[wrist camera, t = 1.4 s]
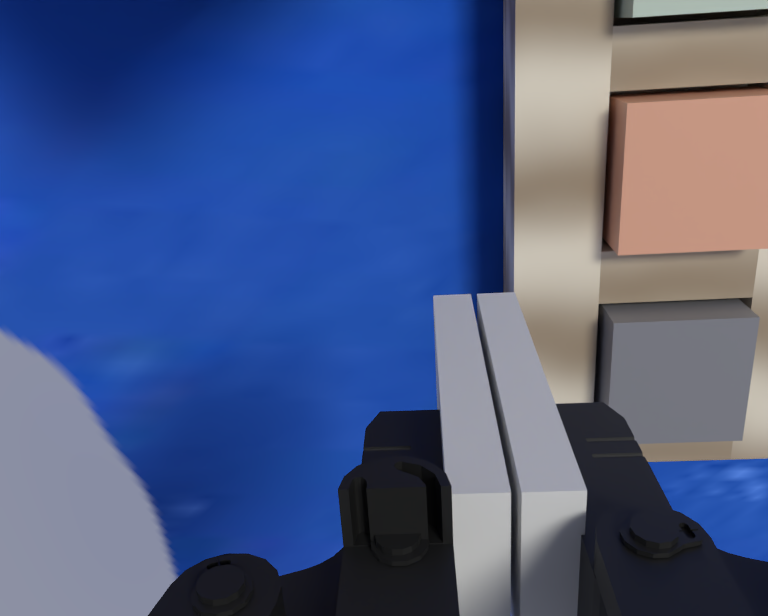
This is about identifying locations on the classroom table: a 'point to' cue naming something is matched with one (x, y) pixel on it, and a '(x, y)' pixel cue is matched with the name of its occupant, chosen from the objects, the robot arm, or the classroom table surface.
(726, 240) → the terracotta button
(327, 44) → the classroom table surface
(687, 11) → the sage button
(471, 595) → the robot arm
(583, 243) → the button panel
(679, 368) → the charcoal button
